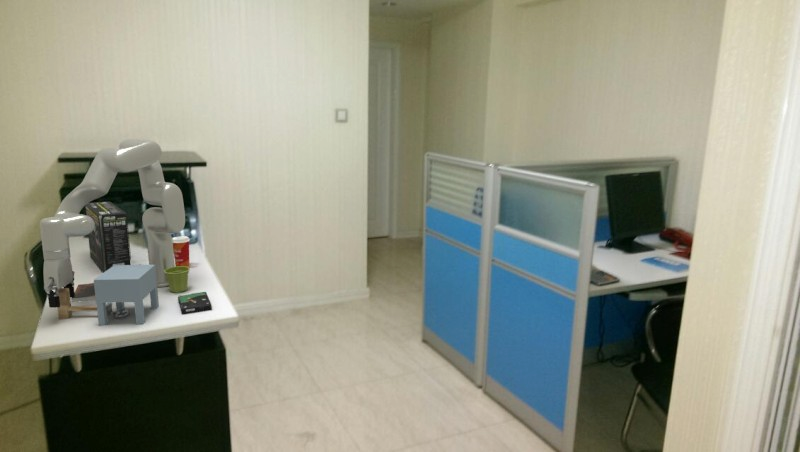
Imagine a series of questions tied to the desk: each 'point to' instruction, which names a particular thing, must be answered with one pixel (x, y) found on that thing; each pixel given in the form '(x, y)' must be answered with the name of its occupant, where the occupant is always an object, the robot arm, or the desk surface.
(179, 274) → the plant pot
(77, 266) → the desk surface
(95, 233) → the router box
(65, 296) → the wooden mallet
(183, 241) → the paper cup
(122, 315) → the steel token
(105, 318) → the blue-grey small table
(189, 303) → the disk drive
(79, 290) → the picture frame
